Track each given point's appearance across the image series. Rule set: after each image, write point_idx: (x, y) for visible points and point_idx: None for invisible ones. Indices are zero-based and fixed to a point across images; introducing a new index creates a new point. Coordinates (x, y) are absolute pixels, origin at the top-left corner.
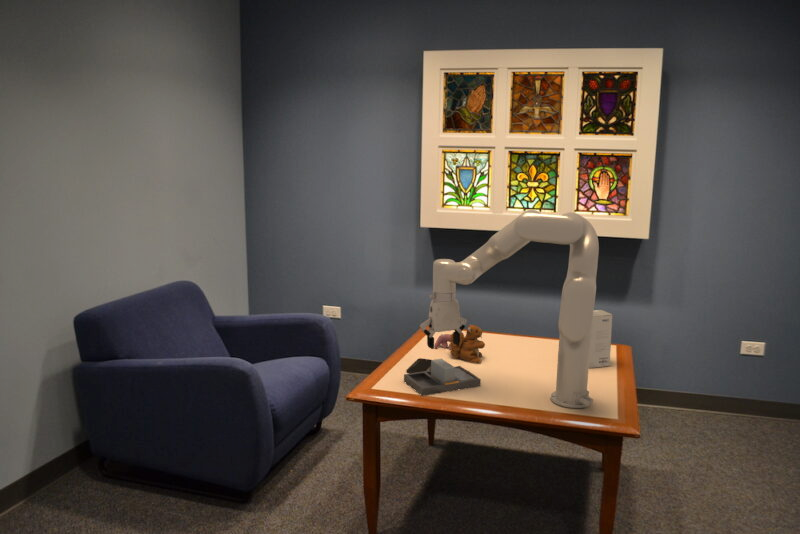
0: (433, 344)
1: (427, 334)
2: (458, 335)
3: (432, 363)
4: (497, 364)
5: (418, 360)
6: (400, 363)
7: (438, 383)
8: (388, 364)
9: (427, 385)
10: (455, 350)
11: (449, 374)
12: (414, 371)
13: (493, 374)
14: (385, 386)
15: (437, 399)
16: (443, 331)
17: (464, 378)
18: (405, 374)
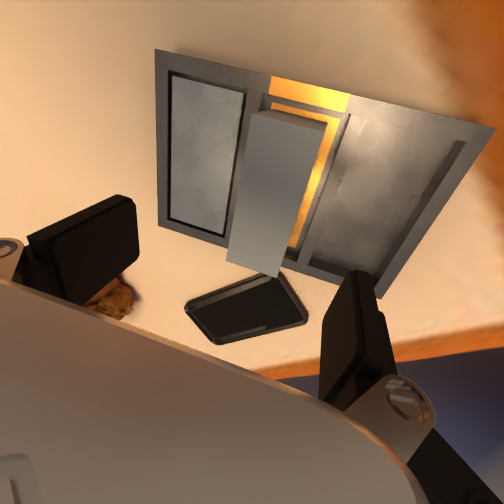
0: (362, 295)
1: (447, 453)
2: (54, 233)
3: (282, 260)
4: (41, 189)
5: (224, 339)
6: (271, 358)
7: (359, 135)
8: (302, 373)
9: (373, 184)
10: (115, 304)
11: (296, 121)
12: (290, 304)
13: (79, 130)
14: (473, 295)
15: (468, 27)
16: (220, 359)
17: (213, 110)
18: (377, 295)
